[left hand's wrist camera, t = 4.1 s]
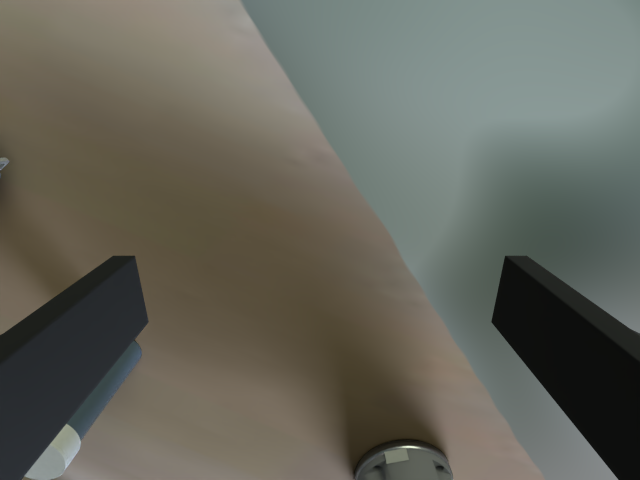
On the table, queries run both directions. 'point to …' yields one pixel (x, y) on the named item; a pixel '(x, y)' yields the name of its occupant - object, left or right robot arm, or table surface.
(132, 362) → the bottle
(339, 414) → the table surface
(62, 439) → the lid
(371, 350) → the table surface
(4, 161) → the spray gun
